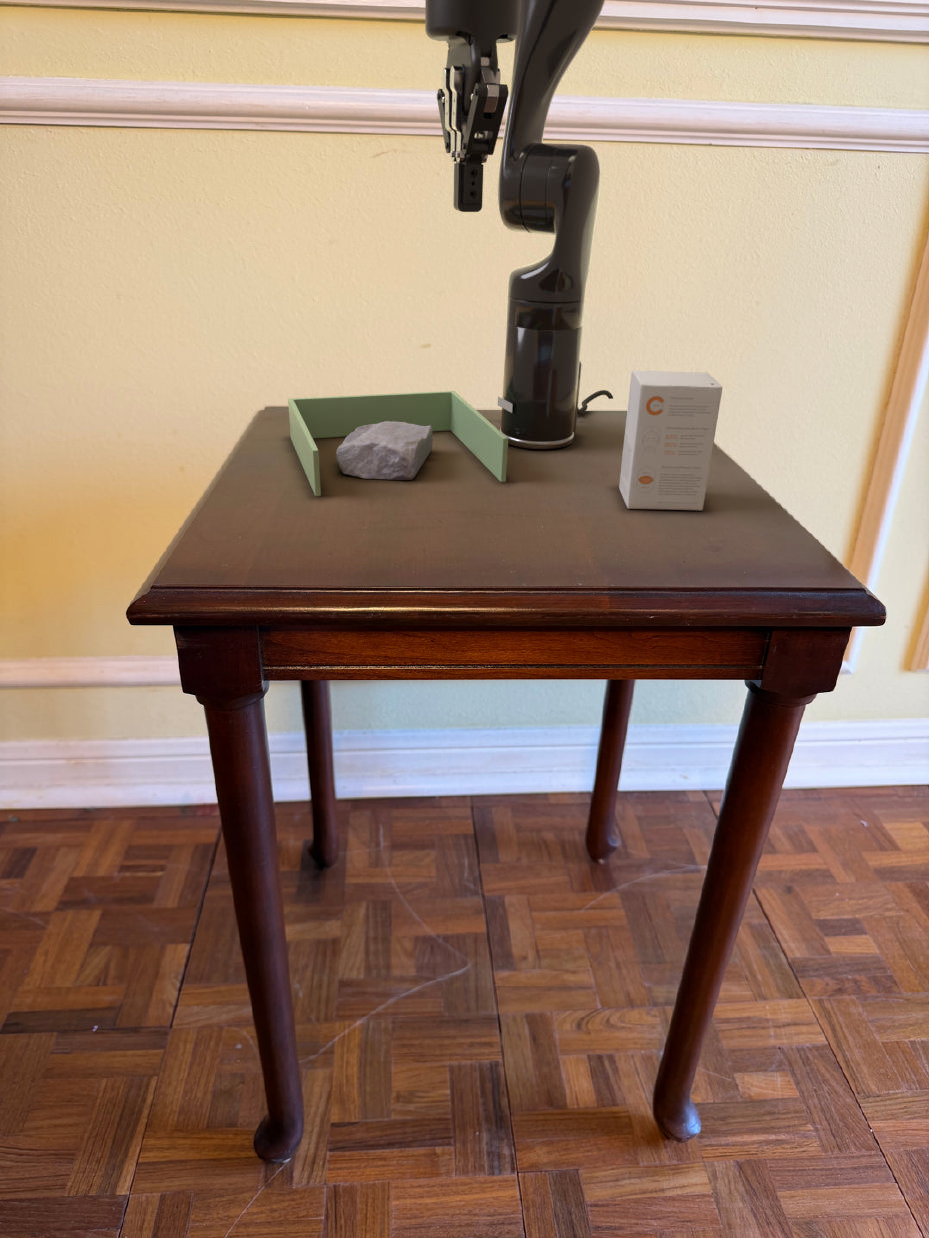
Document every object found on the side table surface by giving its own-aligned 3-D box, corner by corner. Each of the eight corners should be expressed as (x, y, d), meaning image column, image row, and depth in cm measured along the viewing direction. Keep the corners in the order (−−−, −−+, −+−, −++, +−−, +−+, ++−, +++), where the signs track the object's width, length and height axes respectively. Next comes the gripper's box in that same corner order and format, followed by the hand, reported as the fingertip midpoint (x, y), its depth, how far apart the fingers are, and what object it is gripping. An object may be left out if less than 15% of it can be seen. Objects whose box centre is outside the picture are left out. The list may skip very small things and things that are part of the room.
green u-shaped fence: (506, 482, 98) (508, 438, 95) (315, 496, 92) (312, 450, 90) (453, 428, 115) (454, 390, 113) (290, 438, 110) (287, 398, 107)
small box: (690, 490, 97) (709, 371, 91) (703, 512, 91) (724, 386, 85) (617, 488, 97) (630, 369, 91) (625, 509, 91) (641, 384, 85)
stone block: (334, 491, 98) (420, 480, 96) (324, 449, 96) (412, 437, 94) (361, 462, 109) (439, 451, 107) (352, 423, 107) (432, 412, 105)
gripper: (549, -42, 64) (534, 218, 73) (492, -17, 75) (485, 206, 84) (450, -50, 62) (446, 217, 71) (407, -24, 73) (408, 205, 82)
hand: (467, 211), depth 77 cm, fingers closed
